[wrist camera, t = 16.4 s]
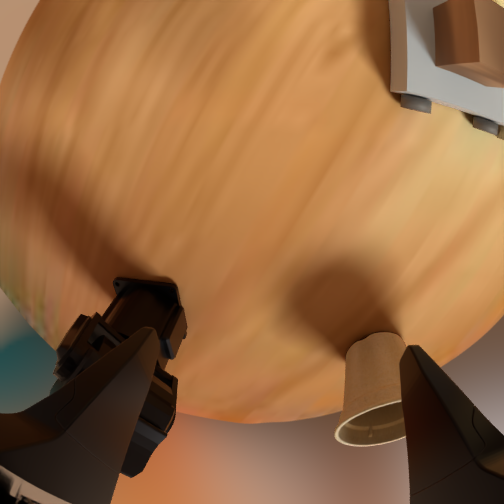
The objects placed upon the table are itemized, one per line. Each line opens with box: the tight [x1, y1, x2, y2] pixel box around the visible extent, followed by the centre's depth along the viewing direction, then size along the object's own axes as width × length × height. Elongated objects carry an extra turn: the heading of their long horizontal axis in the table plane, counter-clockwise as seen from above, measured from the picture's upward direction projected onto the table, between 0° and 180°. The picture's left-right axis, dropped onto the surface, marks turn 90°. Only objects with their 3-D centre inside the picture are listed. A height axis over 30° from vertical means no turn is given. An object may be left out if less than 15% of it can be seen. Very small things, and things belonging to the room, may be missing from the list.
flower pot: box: [334, 332, 407, 446], centre depth 22 cm, size 9×9×9 cm
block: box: [433, 0, 504, 88], centre depth 7 cm, size 4×4×4 cm
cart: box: [389, 0, 504, 135], centre depth 11 cm, size 9×10×3 cm
